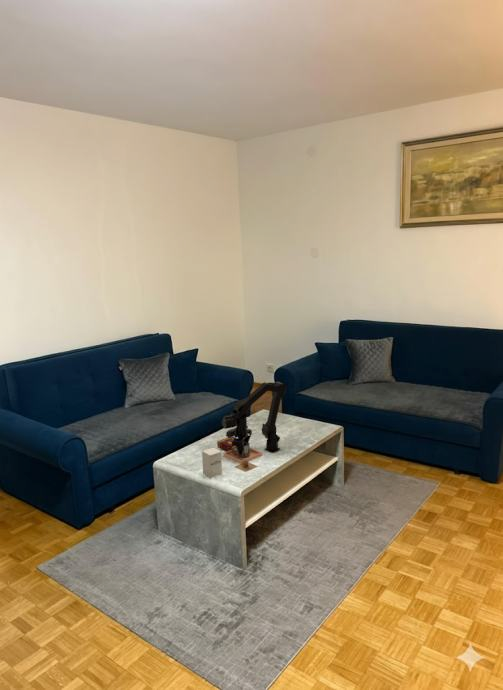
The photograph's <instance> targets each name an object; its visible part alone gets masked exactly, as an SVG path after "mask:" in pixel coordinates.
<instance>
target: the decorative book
mask: <svg viewBox="0 0 503 690" xmlns="http://www.w3.org/2000/svg"><path fill="white" fill-rule="evenodd" d="M235 438H237V437H235V436H233V437H230V438H228V437H227V436H226V438H222V439H219V440H217V442H216V443H217V448H218V449H220V451H225V452H228V451H230V450H232V453H234V451H233V449H234V448H236V446H232V441H233V440H234V439H235Z"/></svg>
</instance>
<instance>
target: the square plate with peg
mask: <svg viewBox="0 0 503 690" xmlns="http://www.w3.org/2000/svg"><path fill="white" fill-rule="evenodd" d="M234 468H236V469H238V470H240V471H242V472H244V473H247V472H249V471H251V470H254V469H256V468H258V465H257V464H253V463H251V462H250V461H247V460H245V461H244V463H243V464H240V463H238V465H235V466H234Z"/></svg>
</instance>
